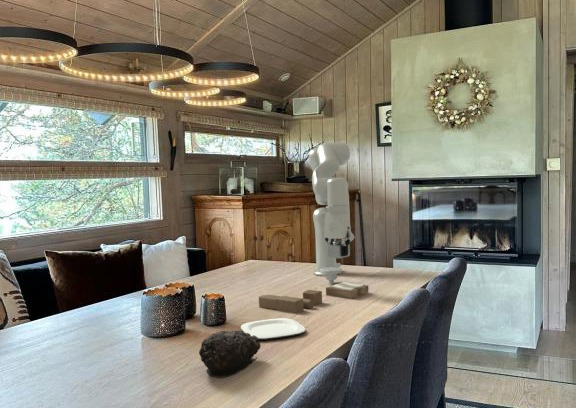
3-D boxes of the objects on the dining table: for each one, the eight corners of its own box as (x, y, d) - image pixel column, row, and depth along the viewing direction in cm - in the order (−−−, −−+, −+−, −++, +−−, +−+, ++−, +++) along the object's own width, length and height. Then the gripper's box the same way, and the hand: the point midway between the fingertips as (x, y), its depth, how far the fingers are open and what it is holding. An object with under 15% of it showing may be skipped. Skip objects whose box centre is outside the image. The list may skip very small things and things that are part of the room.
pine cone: (266, 357, 135) (265, 320, 135) (228, 382, 119) (226, 340, 119) (233, 352, 140) (231, 316, 139) (192, 376, 124) (190, 335, 123)
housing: (338, 254, 208) (338, 239, 208) (349, 256, 204) (349, 240, 204) (328, 257, 203) (327, 241, 203) (339, 258, 199) (339, 242, 199)
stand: (343, 289, 212) (343, 281, 211) (368, 293, 204) (368, 284, 204) (326, 295, 202) (325, 286, 202) (351, 299, 195) (351, 290, 195)
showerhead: (319, 269, 219) (320, 265, 229) (320, 286, 220) (320, 281, 229) (341, 268, 218) (341, 264, 228) (342, 285, 219) (342, 280, 229)
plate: (236, 328, 163) (236, 323, 163) (289, 321, 169) (289, 316, 169) (253, 345, 146) (252, 339, 146) (311, 336, 152) (311, 331, 152)
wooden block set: (298, 299, 176) (257, 293, 187) (298, 315, 177) (258, 308, 187) (324, 289, 190) (285, 284, 201) (324, 304, 190) (285, 298, 201)
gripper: (314, 209, 205) (315, 254, 206) (349, 210, 194) (351, 258, 195) (325, 208, 211) (327, 252, 212) (361, 209, 200) (362, 255, 200)
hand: (338, 254), depth 203 cm, fingers closed on housing, 5 cm apart
